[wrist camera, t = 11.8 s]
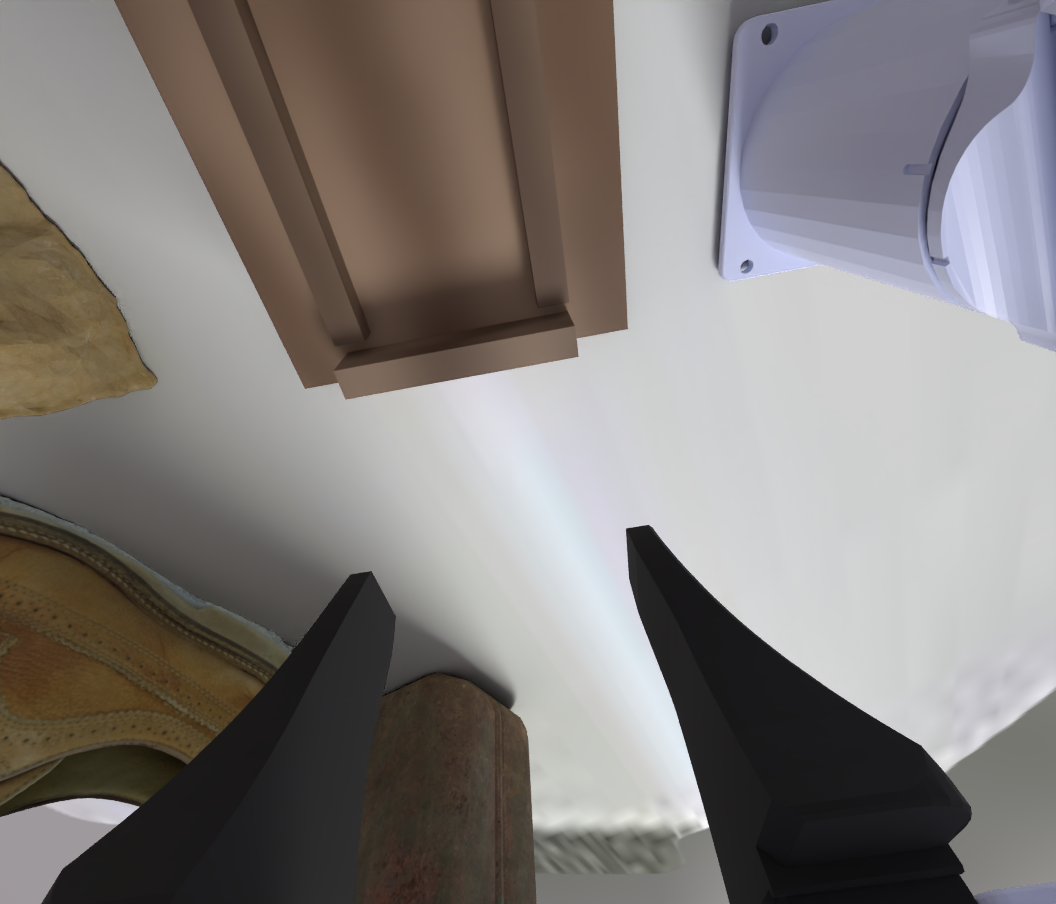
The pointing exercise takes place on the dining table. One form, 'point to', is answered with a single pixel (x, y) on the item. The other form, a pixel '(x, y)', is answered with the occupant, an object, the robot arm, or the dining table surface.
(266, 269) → the slider track
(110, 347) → the rock
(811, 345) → the dining table surface
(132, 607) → the oxford shoe
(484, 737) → the container
